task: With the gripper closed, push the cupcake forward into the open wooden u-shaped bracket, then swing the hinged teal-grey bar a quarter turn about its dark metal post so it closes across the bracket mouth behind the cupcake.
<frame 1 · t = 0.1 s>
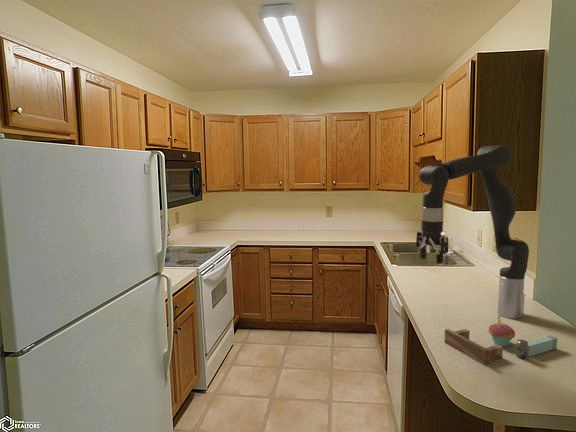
hand: (431, 261, 142), 29 cm above the countertop, fingers open, 8 cm apart
cupcake: (500, 343, 137), on the countertop
post: (521, 357, 127), on the countertop
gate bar: (540, 345, 130), point 2 cm above the countertop, hinge at 0.0°
wooden u-shaped bracket: (473, 350, 132), on the countertop
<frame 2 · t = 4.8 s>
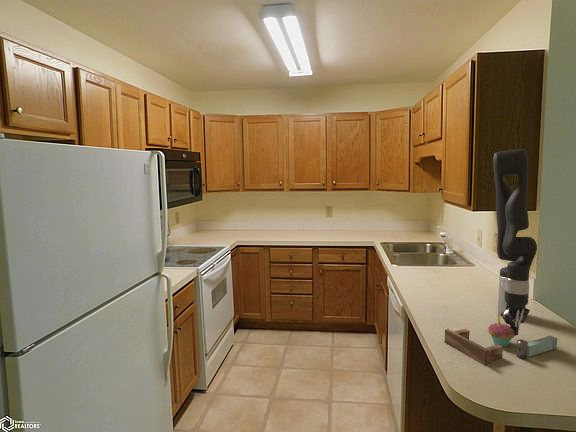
hand: (513, 334, 139), 2 cm above the countertop, fingers closed
cupcake: (500, 343, 137), on the countertop, touching gripper
everything else where it was.
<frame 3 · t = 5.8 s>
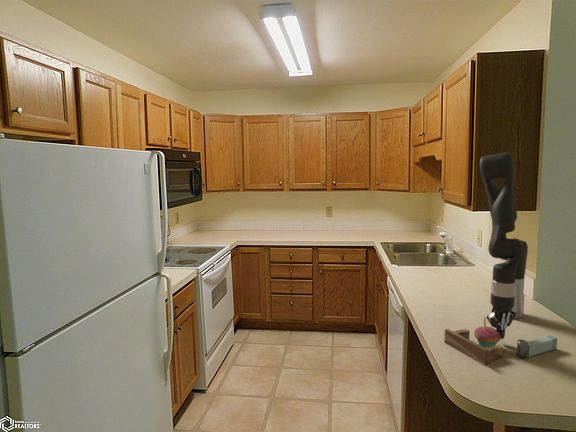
hand: (500, 337, 137), 2 cm above the countertop, fingers closed
cupcake: (486, 347, 135), on the countertop, touching gripper
everything else where it was.
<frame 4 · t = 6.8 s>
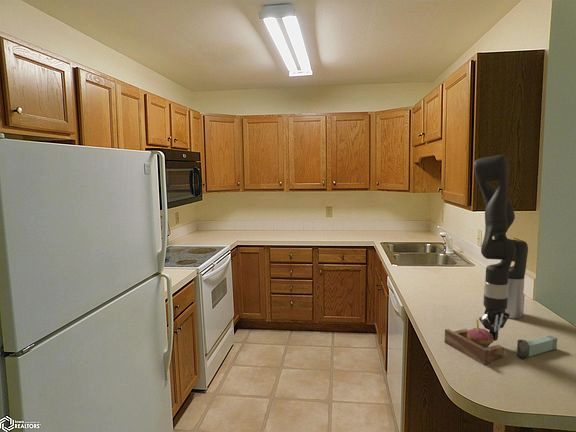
hand: (493, 339, 136), 2 cm above the countertop, fingers closed
cupcake: (479, 349, 134), on the countertop, touching gripper
everything else where it was.
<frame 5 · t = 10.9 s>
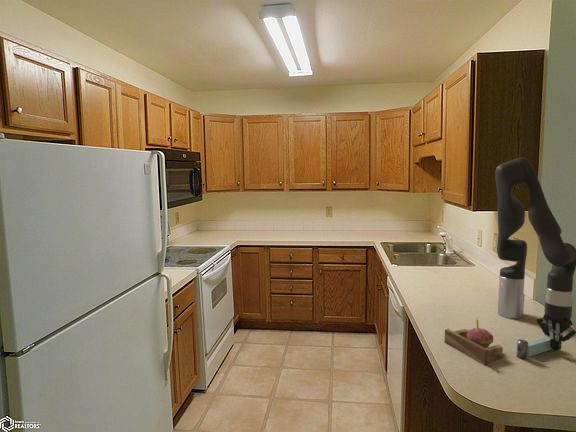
hand: (555, 349, 128), 2 cm above the countertop, fingers closed
cupcake: (479, 349, 134), on the countertop
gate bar: (539, 345, 130), point 2 cm above the countertop, hinge at 0.4°, touching gripper
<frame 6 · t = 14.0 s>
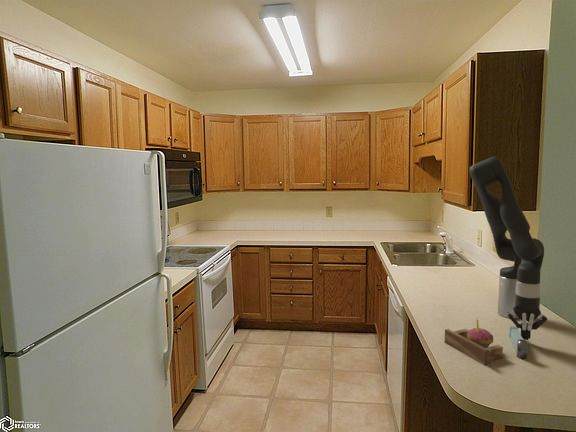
hand: (525, 338, 137), 2 cm above the countertop, fingers closed
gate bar: (516, 339, 135), point 2 cm above the countertop, hinge at 46.7°, touching gripper
everything else where it was.
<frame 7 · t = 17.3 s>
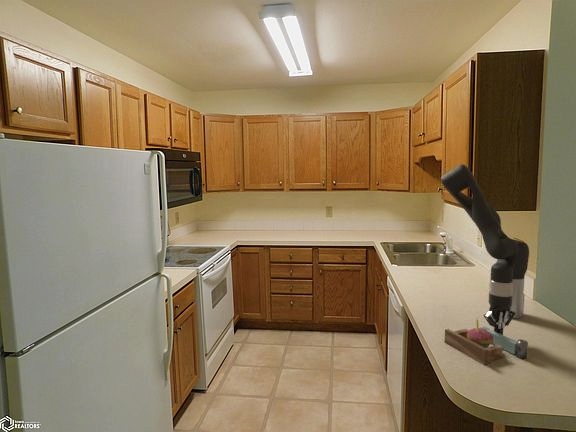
hand: (498, 336, 139), 1 cm above the countertop, fingers closed
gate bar: (498, 339, 135), point 2 cm above the countertop, hinge at 90.1°, touching gripper
everything else where it was.
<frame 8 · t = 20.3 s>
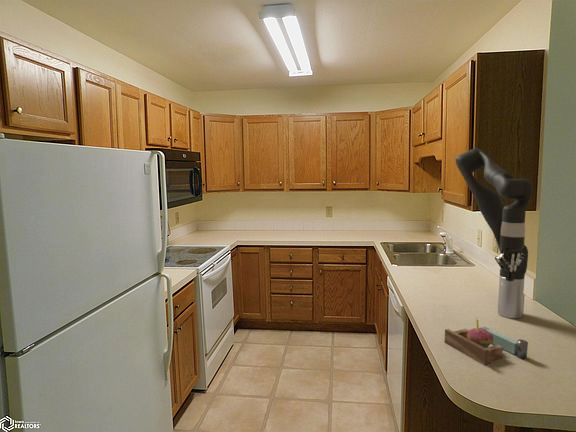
hand: (509, 280, 137), 23 cm above the countertop, fingers closed
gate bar: (498, 339, 135), point 2 cm above the countertop, hinge at 90.1°
everything else where it was.
at the end: cupcake inside the target area (1.5 cm from its centre), on the countertop; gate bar at +90° (first picture: +0°) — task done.
